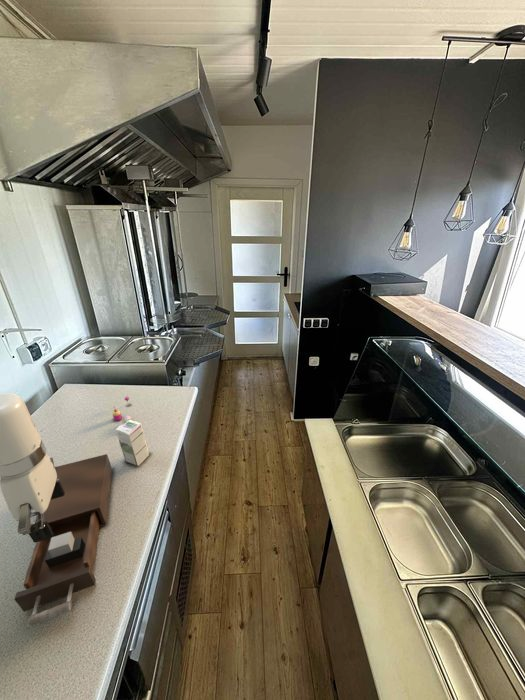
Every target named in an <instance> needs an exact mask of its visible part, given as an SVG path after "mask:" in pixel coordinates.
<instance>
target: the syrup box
mask: <svg viewBox="0 0 525 700" xmlns="http://www.w3.org/2000/svg"><path fill="white" fill-rule="evenodd" d="M115 432H116V435H117V438H118V442H119V446H120V449H121V452H122V455H123V458H124V461H125V462H126V463H129V464H131V465H134V466H137V467H138V466H140V465H141V464H142V463H143V462H144V461H145V460H146V459H147V458H148V457H149V456H150V452H149V449H148V445H147V441H146V440H147V439H146V437H145V432H144V429H143V425H142V422H138V421H136V420H132V419H131V420H129V419H128V420H126V421H125V422H124V421H123V422H122V423H121V424H120V425H119V426H117V428H115Z"/></svg>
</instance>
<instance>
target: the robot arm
mask: <svg viewBox="0 0 525 700" xmlns="http://www.w3.org/2000/svg"><path fill="white" fill-rule="evenodd" d="M45 446H46V445H45V444H44V442H43V440H42V438H41V435H40V433H39V432H38V429H37V427H36V425H35V422H34V420H33V418H32V416H31V414H30V411H29V409H28V407H27V405H26V402H25V401H24V399H23V398H22V397H21V396H20V395H19V394H16V393H10V392H5V393H3V392H2V393H0V489H1V493H2V496H3V498H4V502H5V503H6V505H7V507H8V510H9V512H10V514H11V515H12V518H13V519H14V520H15V521H16V522H18V523H17V530H16V531H17V534H18V535H19V534H20V535H23V536H26V535H29V537H30V539H31V541H32V542H33V543H34V544H36V542H40V541H43V540H46V539H49V538H52V537H53V532H52V530H51V528H50V526H49V524H48V522H45V521H44V512H45V511H46V509H47V508H48V505H49V502H50V500H52V499H55V498H59V497H62V496H64V494H65V492H64V490H63V487H62V485H61V483H60V482H58V481H59V476H57V473H56V467H57V466H55V464H54V463H55V462H54V457H50V456H49V455H48V451H47V448H46V447H45ZM32 510H33V512H32ZM37 515H38V523H35V522H34V523H31V522H32V521H31V520H32V519H31V518H33V517H37Z"/></svg>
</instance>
